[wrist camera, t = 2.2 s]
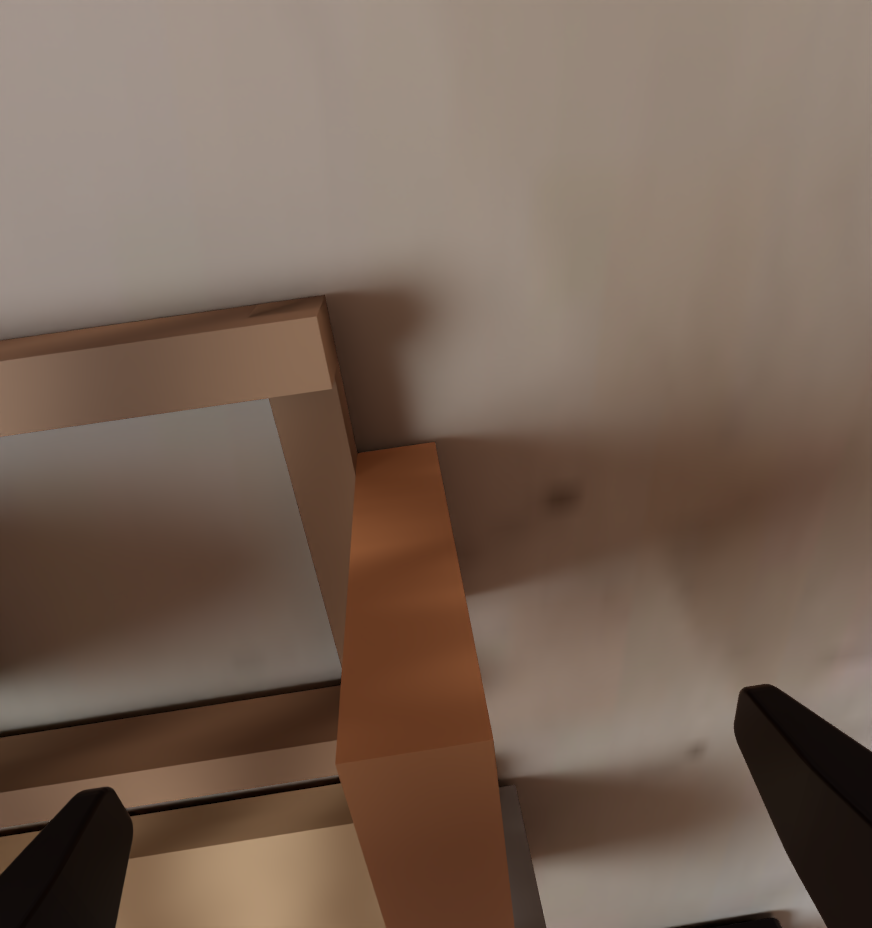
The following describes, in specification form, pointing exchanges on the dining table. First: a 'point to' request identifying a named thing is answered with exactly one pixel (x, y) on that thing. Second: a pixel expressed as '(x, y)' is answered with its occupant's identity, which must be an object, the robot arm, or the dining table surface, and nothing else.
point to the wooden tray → (346, 601)
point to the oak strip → (271, 865)
